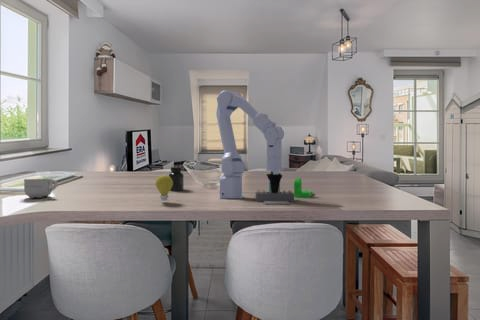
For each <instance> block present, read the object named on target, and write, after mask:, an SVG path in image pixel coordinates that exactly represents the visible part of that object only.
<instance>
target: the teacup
mask: <svg viewBox="0 0 480 320" xmlns="http://www.w3.org/2000/svg"><path fill="white" fill-rule="evenodd" d="M23 181H24V183H23V189H24V190H23V192H24V194H25V196H28V198H35V197H36V198H43V197H42V196H48V197H49V196H50V195H51V194H52V192H53V191H54V190H56V189H57V187H58V181H57V180H56V179H53V178H37V179H35V178H29V179H28V178H26V179H23Z"/></svg>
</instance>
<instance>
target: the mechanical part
mask: <svg viewBox="0 0 480 320" xmlns="http://www.w3.org/2000/svg"><path fill="white" fill-rule="evenodd" d="M302 187H303V185H302V179H301V178H297V177H296V178H295V179H294V183H293V188H294V189H293V193H294V198H303V199H308V198H310V197H311V196H312V195H313V191H312V190H302Z"/></svg>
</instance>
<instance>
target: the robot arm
mask: <svg viewBox="0 0 480 320" xmlns="http://www.w3.org/2000/svg"><path fill="white" fill-rule="evenodd" d="M216 102H217V107H216V112H215V113H216V114H215V115H216V120H217V124H218V130H219V134H220V140H221V143H222V150H223V156H222V158H221V160H220V161H221V166H220V167H221V173H222V174H223V176H220V177H219V190H218V193H219V199H244V195H243V176H244V172H245V171H246V164H245V163H244V161H243V158H242V156H241V154H239V153H238V149H237V143H236V139H235V135H234V130H233V126H232V125H233V124H232V119H231V116H232V114H233V113H234V112H235V111H237V110H238V108H239V109H240V110H242V111H243V112H244V113H245V114H246V115H247V116H249V117H250V118H251V119H252V124H253V125H254V126H255V127H256V128H257V129H258V130H259V131H260V132H261V133H262V134H263V136H264V139H265V141H266V170H265V171H267V172H270V173H266V176H267V179H268V180H270V184H271V190H272V193H278V189H279V183H280V184H281V180H282V178H283V174H281V171H285V169H286V168H282V159H283V158H282V149H283V148H282V140H283V138H284V137H285V131H284V130H283V128H282V127H281V126H277V123H276V122H273V121H272V120H271V119H270V118H269V115H268V114H267V113H263V112H262V113H261V112H260V113H259V112H258V111H257V110H256V108H254V107H253V105H252V104H250V102H249V101H248V100H247V99H246V97H244V95H243V96H242V94H241V93H239V92H233V91H230V90H226V89H224V90H221V91H220V92H219V94H218V95H217V97H216ZM268 180H267V181H268Z"/></svg>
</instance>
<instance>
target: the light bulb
mask: <svg viewBox="0 0 480 320" xmlns="http://www.w3.org/2000/svg"><path fill="white" fill-rule="evenodd" d="M172 185H173V181H172V179H171V177H169V175H168V174H162V175H161V174H160V175H159V176H158V177H157V178H156V180H155V186H156V188H157V191H158V192H159V193H160V195H159V198H161V199H160V200H161V202H162V201H163V202H166V201H168V198H169V192H171V191H170V189H171V187H172Z"/></svg>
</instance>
